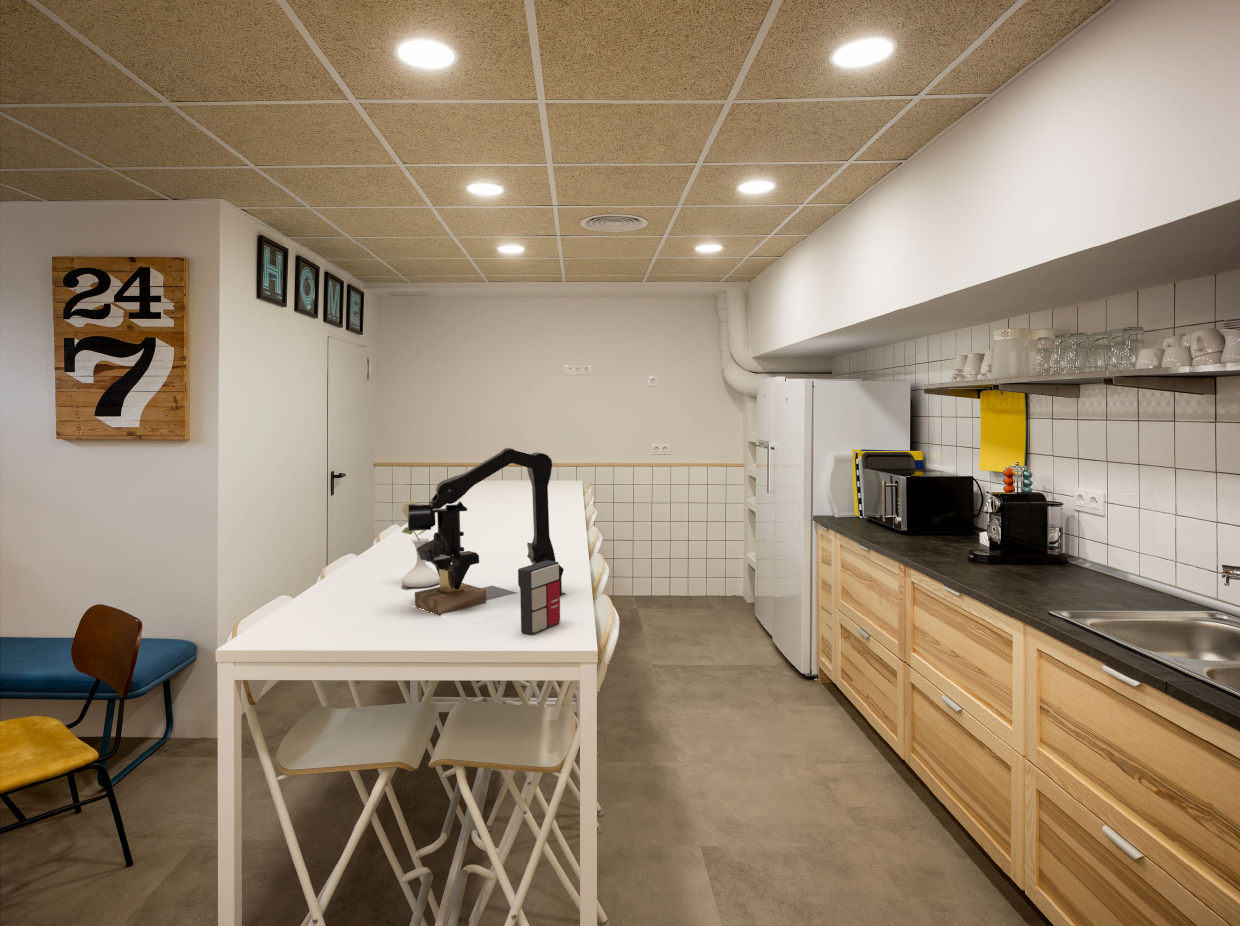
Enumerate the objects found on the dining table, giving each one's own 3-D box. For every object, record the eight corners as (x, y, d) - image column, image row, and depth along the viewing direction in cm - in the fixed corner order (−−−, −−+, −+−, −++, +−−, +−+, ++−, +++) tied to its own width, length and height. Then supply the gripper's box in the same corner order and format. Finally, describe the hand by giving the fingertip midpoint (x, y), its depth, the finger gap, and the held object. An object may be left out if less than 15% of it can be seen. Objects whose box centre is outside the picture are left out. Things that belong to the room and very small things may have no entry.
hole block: (486, 604, 182) (486, 589, 182) (440, 616, 172) (439, 600, 172) (460, 596, 190) (460, 582, 190) (415, 607, 180) (414, 592, 180)
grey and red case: (533, 635, 156) (532, 570, 155) (518, 632, 158) (517, 568, 157) (562, 623, 165) (561, 561, 164) (548, 620, 168) (547, 559, 167)
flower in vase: (449, 584, 204) (447, 500, 203) (419, 592, 195) (417, 505, 193) (419, 578, 211) (417, 498, 210) (389, 586, 202) (386, 502, 200)
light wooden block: (461, 605, 181) (460, 568, 180) (448, 609, 178) (447, 571, 177) (453, 603, 184) (452, 566, 183) (440, 606, 181) (439, 568, 180)
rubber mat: (517, 594, 192) (517, 592, 192) (482, 603, 183) (481, 601, 183) (492, 587, 200) (492, 585, 200) (456, 595, 192) (456, 593, 191)
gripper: (402, 528, 180) (404, 587, 181) (441, 537, 167) (443, 599, 168) (439, 523, 188) (441, 579, 189) (479, 531, 175) (481, 591, 176)
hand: (450, 587), depth 181 cm, fingers open, 6 cm apart
